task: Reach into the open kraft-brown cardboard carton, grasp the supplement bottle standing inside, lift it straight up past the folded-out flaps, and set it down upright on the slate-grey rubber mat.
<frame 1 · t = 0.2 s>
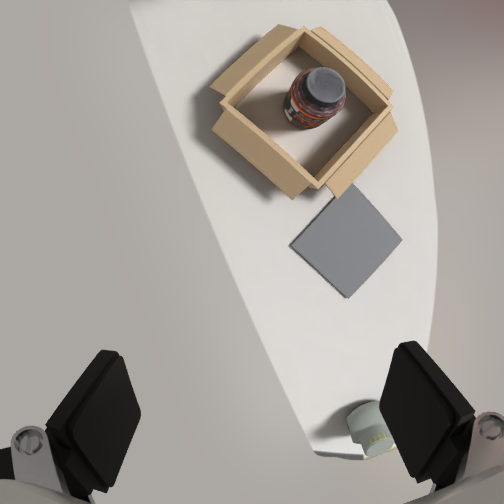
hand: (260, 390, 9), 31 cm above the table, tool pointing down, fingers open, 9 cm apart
supplement bottle: (304, 109, 34), resting in carton
mat: (350, 242, 39), on the table
carton: (305, 109, 34), on the table
air freshener: (365, 412, 48), on the table
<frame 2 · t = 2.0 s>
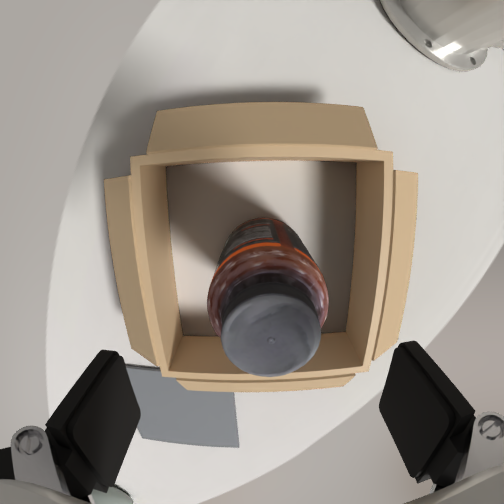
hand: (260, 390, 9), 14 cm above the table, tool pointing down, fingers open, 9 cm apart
supplement bottle: (263, 255, 22), resting in carton
mat: (179, 411, 26), on the table
carton: (263, 256, 22), on the table
air freshener: (114, 489, 35), on the table
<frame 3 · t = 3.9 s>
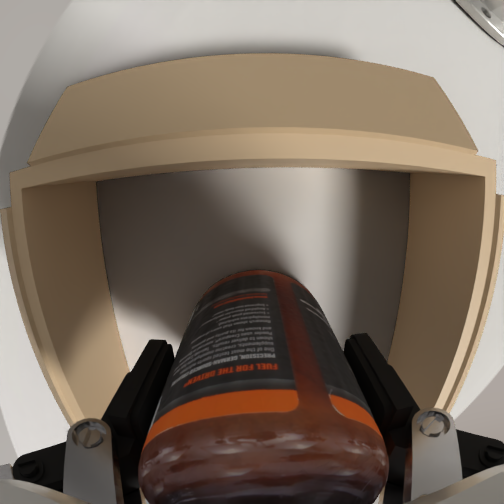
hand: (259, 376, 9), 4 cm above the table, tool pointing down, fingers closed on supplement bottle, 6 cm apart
supplement bottle: (257, 325, 13), resting in carton, touching gripper
carton: (257, 327, 13), on the table
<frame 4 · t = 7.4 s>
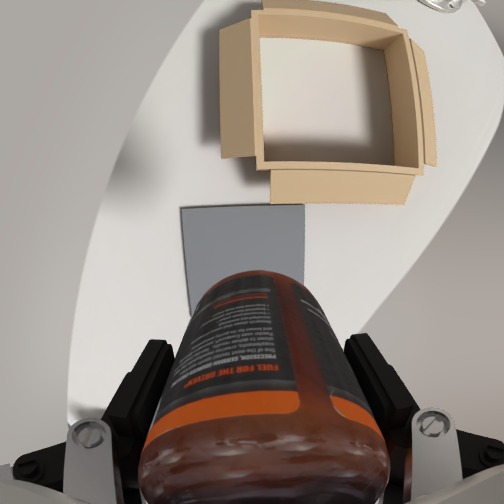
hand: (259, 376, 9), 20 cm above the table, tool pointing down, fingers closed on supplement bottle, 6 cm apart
supplement bottle: (257, 325, 13), point 16 cm above the table, touching gripper
mat: (244, 265, 29), on the table
carton: (329, 98, 25), on the table
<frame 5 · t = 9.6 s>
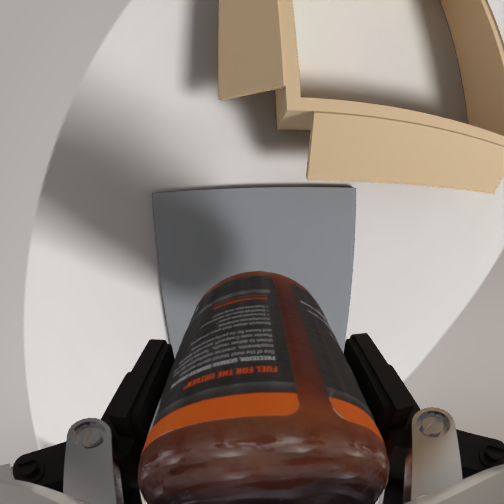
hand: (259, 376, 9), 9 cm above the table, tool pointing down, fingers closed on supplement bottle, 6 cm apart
supplement bottle: (257, 326, 13), point 5 cm above the table, touching gripper
mat: (256, 285, 18), on the table
carton: (382, 36, 14), on the table
when the fingers open (5 cm above the table, at t = 11.2 s): supplement bottle drops 1 cm, resting on mat.
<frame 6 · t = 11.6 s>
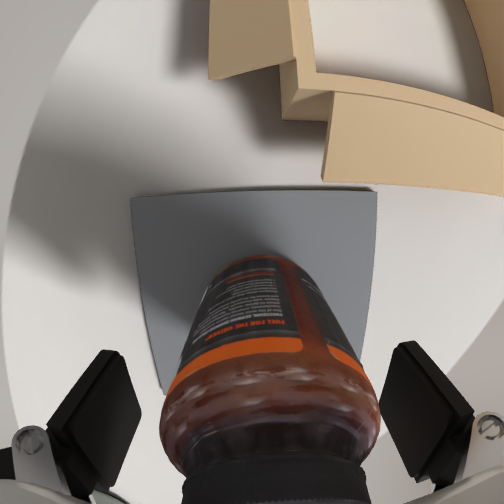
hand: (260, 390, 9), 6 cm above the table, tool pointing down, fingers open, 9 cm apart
supplement bottle: (262, 307, 15), resting on mat
mat: (257, 309, 15), on the table
carton: (401, 17, 10), on the table
air freshener: (108, 498, 23), on the table
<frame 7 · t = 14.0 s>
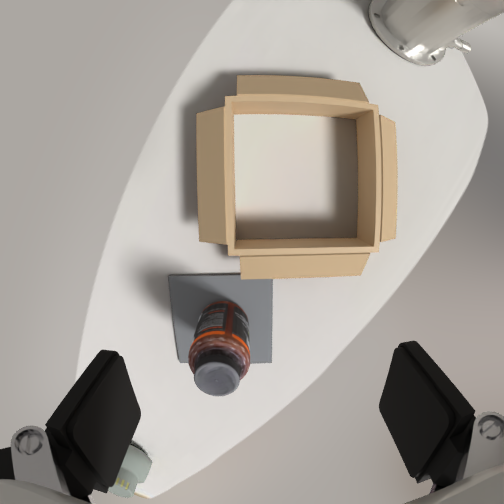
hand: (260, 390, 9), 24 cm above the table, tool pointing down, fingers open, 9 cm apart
supplement bottle: (224, 321, 34), resting on mat
mat: (222, 321, 34), on the table
carton: (298, 175, 31), on the table
air freshener: (130, 451, 41), on the table
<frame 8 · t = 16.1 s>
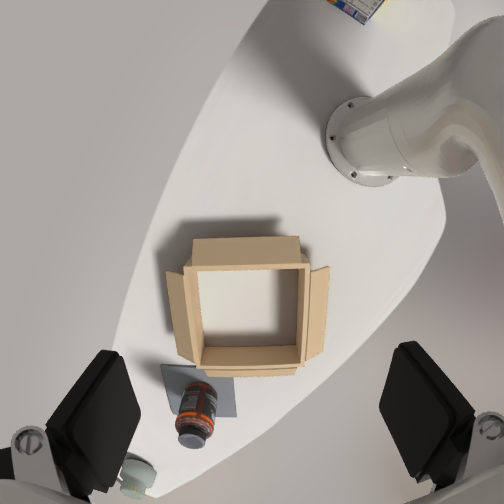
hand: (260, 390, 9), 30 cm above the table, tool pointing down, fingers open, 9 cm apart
supplement bottle: (201, 392, 45), resting on mat
mat: (200, 392, 45), on the table
carton: (248, 305, 41), on the table
air freshener: (140, 465, 53), on the table
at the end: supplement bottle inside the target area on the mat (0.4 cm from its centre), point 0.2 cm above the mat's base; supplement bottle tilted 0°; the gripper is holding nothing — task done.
